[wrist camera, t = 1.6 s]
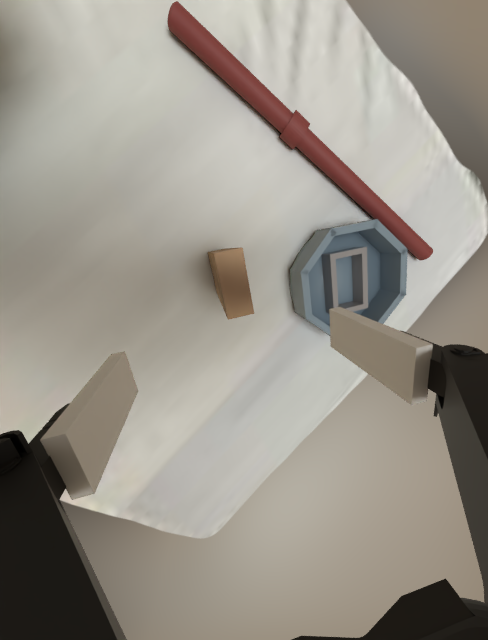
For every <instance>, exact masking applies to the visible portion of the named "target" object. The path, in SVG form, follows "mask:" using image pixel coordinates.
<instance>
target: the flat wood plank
mask: <svg viewBox="0 0 488 640" xmlns="http://www.w3.org/2000/svg"><path fill="white" fill-rule="evenodd" d="M208 255H209V260H210V264H211V269H212V273H213V278H214V282H215V287H216V291H217V295H218V297H219V299H220V302H221V304H222V306H223V309H224V311H225V313H226V316H227V318H228V319H232V318H237V317H241V316H245V315H250V314H254V310H253V304H252V299H251V293H250V288H249V282H248V276H247V271H246V265H245V260H244V254H243V248H229V249H221V250H216V251H211V252H208Z"/></svg>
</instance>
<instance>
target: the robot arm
mask: <svg viewBox="0 0 488 640" xmlns="http://www.w3.org/2000/svg"><path fill="white" fill-rule="evenodd" d="M329 313H330V338H331V347H332V348H334V349H335V350H336V351H338V352H339V353H340V354H342V355H343V356H345V357H346V358H347V359H349V360H350V361H351V362H353V363H354V364H356V365H357V366H358V367H360V368H361V369H362V370H364V371H365V372H367V373H368V374H369V375H371V376H372V377H374V378H375V379H376V380H378V381H379V382H380V383H382V384H383V385H384V386H386V387H387V388H389V389H390V390H391V391H393V392H394V393H395V394H397V395H398V396H400V397H401V398H402V399H404V400H405V401H406V402H408V403H409V404H411V405H414V404H418V403H421V402H424V401H427V394H428V389H430V390H431V391H433V392H435V393H436V401H435V410H434V416H436V417H437V414H438V413H439V416H440V420H441V424H442V428H443V431H444V435H445V439H446V443H447V446H448V451H449V454H450V458H451V462H452V466H453V469H454V473H455V477H456V481H457V484H458V488H459V492H460V496H461V499H462V503H463V507H464V511H465V514H466V518H467V522H468V525H469V530H470V533H471V537H472V541H473V545H474V548H475V552H476V556H477V559H478V563H479V567H480V571H481V574H482V580H483V586H484V601H485V603H484V602H480V601H477V600H471V599H466V598H460V597H459V596H458V594H457V593H456V592H455V590H454V589H453V588H452V586H451V585H450V584H449V582H448V581H447V580H446V579H444V580H441V581H439V582H436V583H434V584H431V585H428V586H426V587H423V588H421V589H418V590H416V591H413V592H411V593H408V594H406V595H403V596H401V597H400V598H399V600H398V601H397V602H396V603H395V604H394V605H393V606H392V607H391V608H390V609H389V610H388V611H387V613H386V614H385V615H384V616H383V617H382V618H381V619H380V620H379V621H378V622H377V623H376V624H375V626H374V627H373V628H372V629H371V630H370V631H369V632H368V633H367V634H366V635H365V636H363V637H360V638H342V637H341V638H340V637H316V636H300V637H297V638H295V639H292V640H488V353H487V354H485V353H484V352H482V351H481V350H479V349H477V348H474V347H470V346H466V345H446V346H444V347H442V346H439V345H436V344H434V343H431V342H429V341H426V340H424V339H420V338H419V337H416V336H412V335H411V334H409V333H406V332H404V331H399V330H396V329H394V328H391V327H389V326H386V325H384V324H381V323H379V322H376V321H374V320H371V319H369V318H366V317H364V316H361V315H359V314H356V313H354V312H351V311H349V310H346V309H344V308H341V307H337V308H332V309H329ZM137 392H138V389H137V386H136V383H135V380H134V377H133V374H132V371H131V368H130V365H129V362H128V359H127V357H126V354H125V352H120V353H115V354H111V355H110V356H109V358H108V359H107V360H106V361H105V362H104V364H103V365H102V366H101V367H100V368H99V370H98V371H97V372H96V373H95V374H94V376H93V377H92V378H91V379H90V380H89V382H88V383H87V384H86V385H85V386H84V388H83V389H82V390H81V391H80V392H79V394H78V395H77V396H76V397H75V398H74V400H73V401H72V402H71V403H69V404H67V405H65V406H64V407H63V408H61V409H60V410H59V411H57V412H56V413H55V414H54V415H53V417H52V418H51V419H50V420H49V422H48V423H46V425H45V426H44V427H43V428H42V430H40V431H39V433H38V434H37V435H36V436H35V437H34V438H33V439H32V441H31V442H30V443H29V444H28V442H27V441H26V439H25V437H24V435H23V433H22V432H21V431H19V430H17V431H10V432H6V433H3V434H0V640H127V639H126V637H125V635H124V633H123V631H122V629H121V627H120V625H119V623H118V621H117V618H116V616H115V614H114V612H113V610H112V608H111V606H110V604H109V602H108V600H107V598H106V595H105V593H104V591H103V589H102V587H101V585H100V583H99V581H98V579H97V576H96V574H95V572H94V570H93V568H92V566H91V564H90V562H89V560H88V558H87V556H86V553H85V551H84V549H83V547H82V545H81V543H80V541H79V539H78V537H77V535H76V533H75V530H74V528H73V526H72V524H71V522H70V520H69V518H68V516H67V514H66V511H65V509H64V507H63V505H62V504H61V502H60V500H59V499H60V497H61V495H62V494H63V492H64V490H65V488H66V490H67V491H68V493H69V495H70V497H71V499H72V500H73V499H77V498H80V497H84V496H88V495H91V494H94V493H95V491H96V489H97V486H98V484H99V482H100V479H101V477H102V475H103V472H104V470H105V468H106V465H107V463H108V461H109V458H110V456H111V453H112V451H113V449H114V446H115V444H116V442H117V439H118V437H119V435H120V432H121V430H122V428H123V425H124V423H125V421H126V418H127V416H128V414H129V411H130V409H131V406H132V404H133V402H134V399H135V397H136V395H137Z"/></svg>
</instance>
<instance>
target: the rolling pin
mask: <svg viewBox="0 0 488 640" xmlns="http://www.w3.org/2000/svg"><path fill="white" fill-rule="evenodd" d="M168 27H169V30H170V31H171V32H172V33H173V34H174V35H175V36H176V37H177V38H178V39H180V40H181V41H182V42H183V43H184V44H185V45H186V46H187V47H188V48H189V49H190V50H192V51H193V52H194V53H195V54H196V55H197V56H198V57H199V58H200V59H201V60H202V61H203V62H205V63H206V64H207V65H208V66H209V67H210V68H211V69H212V70H213V71H214V72H215V73H217V74H218V75H219V76H220V77H221V78H222V79H223V80H224V81H225V82H226V83H227V84H228V85H230V86H231V87H232V88H233V89H234V90H235V91H236V92H237V93H238V94H239V95H240V96H242V97H243V98H244V99H245V100H246V101H247V102H248V103H249V104H250V105H251V106H252V107H253V108H255V109H256V110H257V111H258V112H259V113H260V114H261V115H262V116H263V117H264V118H265V119H266V120H268V121H269V122H270V123H271V124H272V125H273V126H274V127H275V128H276V129H277V130H278V131H280V132H281V135H280V138H281V139H282V140H283V141H284V142H285V143H286V144H287V145H289V146H290V147H291V148H292V149H294V148H295V147H297V148H298V149H299V150H300V151H301V152H302V153H303V154H305V155H306V156H307V157H308V158H309V159H310V160H311V161H312V162H313V163H314V164H315V165H316V166H318V167H319V168H320V169H321V170H322V171H323V172H324V173H325V174H326V175H327V176H328V177H329V178H331V179H332V180H333V181H334V182H335V183H336V184H337V185H338V186H339V187H340V188H341V189H343V190H344V191H345V192H346V193H347V194H348V195H349V196H350V197H351V198H352V199H353V200H354V201H356V202H357V203H358V204H359V205H360V206H361V207H362V208H363V209H364V210H365V211H366V212H368V213H369V214H370V215H371V216H372V217H373V218H374V219H378V220H379V221H380V222H381V223H382V224H383V225H384V226H385V227H386V228H387V229H388V230H389V231H390V232H391V233H392V234H393V235H394V236H395V237H396V238H397V239H398V240H399V241H400V242H401V243H402V244H403V245H404V246H405V247H406V248H407V249H408V250H409V251H410V252H411V253H412V254H413V255H414V256H415V257H416V258H417V259H419V260H424V259H427V258H429V257H430V256H431V254H432V253H433V249H432V248H431V247H430V246H429V245H428V244H427V243H426V242H425V241H424V240H423V239H422V238H421V237H420V236H419V235H418V234H417V233H415V232H414V231H413V230H412V229H411V228H410V227H409V226H408V225H407V224H406V223H405V222H404V221H403V220H402V219H401V218H400V217H399V216H398V215H397V214H396V213H395V212H394V211H393V210H392V209H391V208H390V207H389V206H388V205H387V204H386V203H385V202H384V201H383V200H382V199H380V198H379V197H378V196H377V195H376V194H375V193H374V192H373V191H372V190H371V189H370V188H369V187H368V186H367V185H366V184H365V183H364V182H363V181H362V180H361V179H360V178H359V177H358V176H357V175H356V174H355V173H354V172H353V171H352V170H351V169H350V168H349V167H348V166H347V165H345V164H344V163H343V162H342V161H341V160H340V159H339V158H338V157H337V156H336V155H335V154H334V153H333V152H332V151H331V150H330V149H329V148H328V147H327V146H326V145H325V144H324V143H323V142H322V141H321V140H320V139H319V138H318V137H317V136H316V135H315V134H314V133H313V132H312V131H310V130H309V129H308V127H309V125H310V123H309V122H308V121H307V120H306V119H305V118H304V117H303V116H302V115H301V114H300V113H299V112H298V111H297V110H296V111H295V112H294V113H292V112H291V111H290V110H289V109H288V108H287V107H286V106H285V105H284V104H283V103H282V102H281V101H280V100H279V99H278V98H277V97H275V96H274V95H273V94H272V93H271V92H270V91H269V90H268V89H267V88H266V87H265V86H264V85H263V84H262V83H261V82H260V81H259V80H258V79H257V78H256V77H255V76H254V75H253V74H252V73H251V72H250V71H249V70H248V69H247V68H246V67H245V66H244V65H243V64H242V63H240V62H239V61H238V60H237V59H236V58H235V57H234V56H233V55H232V54H231V53H230V52H229V51H228V50H227V49H226V48H225V47H224V46H223V45H222V44H221V43H220V42H219V41H218V40H217V39H216V38H215V37H214V36H213V35H212V34H211V33H210V32H209V31H208V30H207V29H205V28H204V27H203V26H202V25H201V24H200V23H199V22H198V21H197V20H196V19H195V18H194V17H193V16H192V15H191V14H190V13H189V12H188V11H187V10H186V9H185V8H184V7H183V6H182V5H181V4H180V3H179V2H178V1H177V2H174V3H173V4H172V6H171V8H170V10H169V14H168Z"/></svg>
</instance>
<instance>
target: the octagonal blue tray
mask: <svg viewBox="0 0 488 640" xmlns="http://www.w3.org/2000/svg"><path fill="white" fill-rule="evenodd" d="M407 250H408V249H407V248H406V247H405V246H404V245H403V244H402V243H401V242H400V241H399V240H398V239H397V238H396V237H395V236H394V235H393V234H392V233H391V232H390V231H389V230H388V229H387V228H386V227H385V226H384V225H383V224H382V223H381V222H380V221H379V220H378V219H374V220H368V221H362V222H357V223H354V224H349V225H343V226H338V227H333V228H328V229H322V230H317V231H316V232H315V234H314V235H313V237H312V238H311V239H310V240H309V241H308V242H307V243H306V244H305V245H304V246H303V248H302V249H301V250H300V252H299V253H298V255H297V257H296V259H295V261H294V263H293V266H292V267H291V269H290V293H291V297H292V300H293V303H294V308H295V313H297V314H298V315H300V316H301V317H303V318H305V319H306V320H307V321H309V322H311V323H312V324H313V325H315V326H316V327H318V328H319V329H321V330H322V331H324V332H325V333H326V334H328V335H329V336H330V313H329V309H332V308H337V307H341V308H344V309H346V310H349V311H351V312H354V313H356V314H359V315H361V316H364V317H366V318H369V319H371V320H374V321H376V322H379V323H381V324H383V323H384V322H385V321H386V320H387V318H388V317H389V316H390V314H391V313H392V312H393V310H394V309H395V308H396V307H397V305H398V304H399V303H400V301H401V300H402V299H403V298H404V296H405V295H406V278H407Z"/></svg>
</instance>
